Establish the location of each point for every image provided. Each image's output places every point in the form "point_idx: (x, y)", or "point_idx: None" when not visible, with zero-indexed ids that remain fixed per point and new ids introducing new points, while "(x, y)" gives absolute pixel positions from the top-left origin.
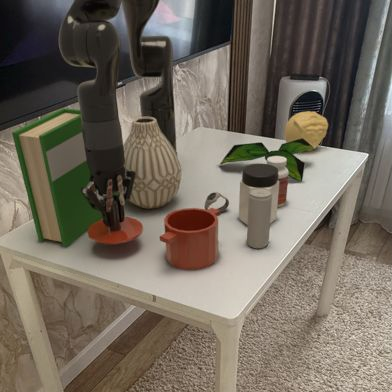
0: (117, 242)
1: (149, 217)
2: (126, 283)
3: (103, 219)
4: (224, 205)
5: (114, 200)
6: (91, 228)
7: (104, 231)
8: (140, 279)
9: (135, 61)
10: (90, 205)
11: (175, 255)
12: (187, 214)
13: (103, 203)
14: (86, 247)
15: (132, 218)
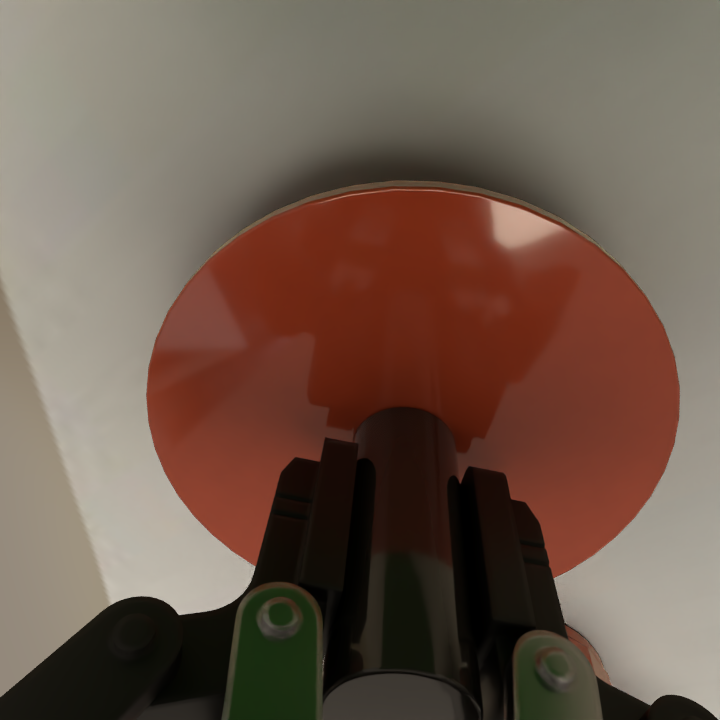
0: (229, 543)
1: None
2: (105, 562)
3: (272, 512)
4: None
5: (506, 695)
6: (297, 245)
7: (309, 395)
8: (174, 592)
9: None
10: (38, 667)
11: None
12: None
13: (298, 680)
14: (270, 129)
15: (658, 474)
